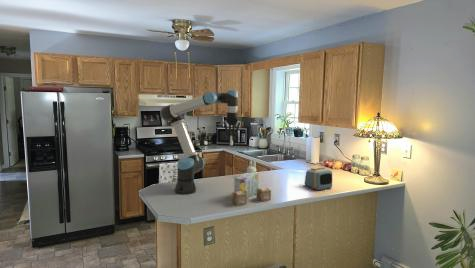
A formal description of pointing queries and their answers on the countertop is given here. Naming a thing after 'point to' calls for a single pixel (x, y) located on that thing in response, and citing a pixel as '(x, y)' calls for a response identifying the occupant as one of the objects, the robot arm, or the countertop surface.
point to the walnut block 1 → (239, 198)
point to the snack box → (247, 183)
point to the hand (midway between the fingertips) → (231, 144)
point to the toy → (251, 168)
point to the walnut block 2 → (263, 194)
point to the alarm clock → (318, 178)
